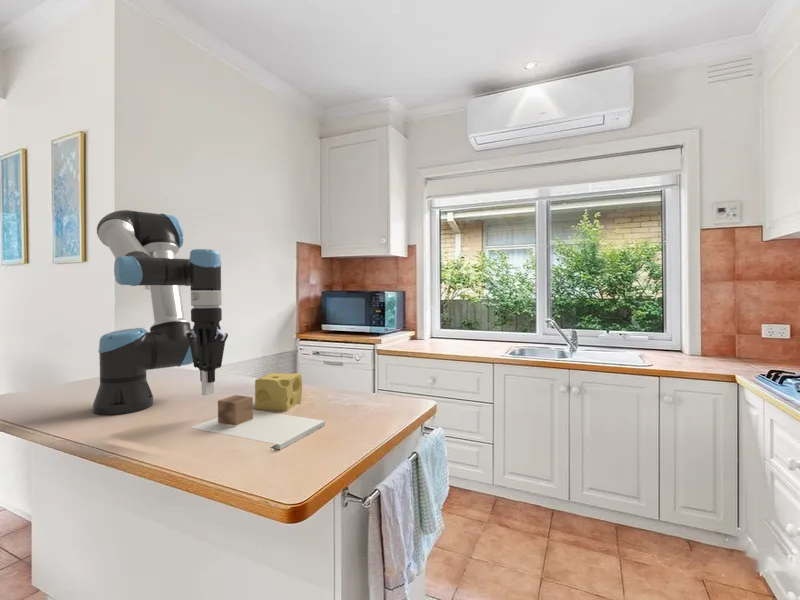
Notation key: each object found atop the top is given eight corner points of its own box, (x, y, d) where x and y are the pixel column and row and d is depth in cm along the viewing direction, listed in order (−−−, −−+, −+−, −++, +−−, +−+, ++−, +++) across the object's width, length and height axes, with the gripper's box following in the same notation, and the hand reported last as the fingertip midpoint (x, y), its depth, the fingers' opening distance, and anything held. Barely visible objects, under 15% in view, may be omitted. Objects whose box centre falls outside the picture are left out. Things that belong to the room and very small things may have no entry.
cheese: (287, 415, 119) (286, 380, 118) (252, 412, 121) (252, 378, 120) (302, 405, 129) (302, 373, 128) (270, 403, 131) (270, 371, 131)
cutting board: (190, 432, 105) (190, 427, 105) (243, 412, 121) (243, 408, 121) (280, 450, 94) (280, 444, 94) (324, 425, 110) (324, 420, 110)
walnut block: (218, 423, 108) (217, 400, 107) (235, 416, 113) (235, 395, 113) (235, 426, 105) (235, 403, 105) (252, 419, 111) (252, 397, 110)
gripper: (176, 307, 111) (178, 395, 112) (213, 307, 106) (214, 399, 107) (200, 306, 118) (201, 388, 119) (235, 306, 113) (236, 393, 113)
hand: (207, 394), depth 113 cm, fingers closed
